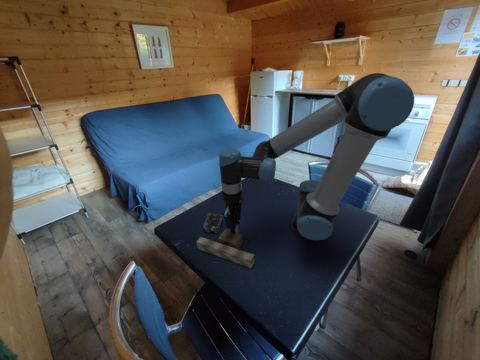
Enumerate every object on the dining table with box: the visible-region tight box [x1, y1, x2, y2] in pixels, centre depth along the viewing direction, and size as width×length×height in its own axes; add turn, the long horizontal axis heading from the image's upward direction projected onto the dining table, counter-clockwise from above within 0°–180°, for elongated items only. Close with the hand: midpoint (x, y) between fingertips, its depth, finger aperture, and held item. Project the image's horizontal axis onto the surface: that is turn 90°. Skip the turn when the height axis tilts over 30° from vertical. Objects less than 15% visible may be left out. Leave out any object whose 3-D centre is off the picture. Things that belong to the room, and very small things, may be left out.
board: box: [195, 236, 255, 269], centre depth 88 cm, size 24×3×4 cm, turn 64°
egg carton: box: [203, 212, 223, 234], centre depth 104 cm, size 11×8×4 cm
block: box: [217, 228, 244, 250], centre depth 93 cm, size 8×6×5 cm
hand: (234, 236), depth 96 cm, fingers closed
